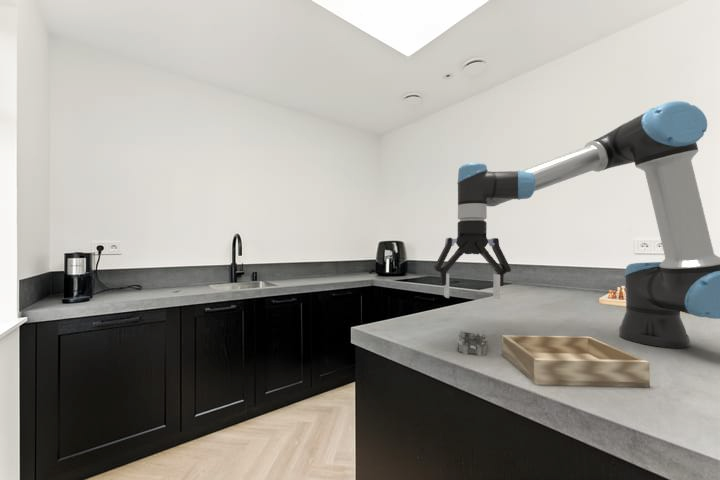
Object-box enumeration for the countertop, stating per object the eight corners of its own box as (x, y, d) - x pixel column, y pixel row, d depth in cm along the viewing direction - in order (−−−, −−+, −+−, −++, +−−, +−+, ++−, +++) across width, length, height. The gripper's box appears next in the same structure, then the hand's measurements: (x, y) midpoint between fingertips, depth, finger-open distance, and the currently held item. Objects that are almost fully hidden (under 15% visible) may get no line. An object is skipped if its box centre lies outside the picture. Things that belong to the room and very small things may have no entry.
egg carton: (486, 358, 77) (486, 342, 77) (455, 353, 80) (455, 338, 80) (488, 345, 87) (488, 331, 87) (460, 341, 90) (460, 328, 90)
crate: (589, 356, 78) (589, 336, 78) (649, 387, 61) (649, 362, 61) (501, 354, 79) (501, 335, 79) (536, 384, 62) (536, 360, 62)
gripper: (511, 221, 87) (511, 295, 87) (424, 221, 88) (423, 294, 88) (524, 219, 80) (524, 300, 79) (428, 219, 81) (428, 299, 81)
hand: (471, 297), depth 84 cm, fingers open, 13 cm apart
